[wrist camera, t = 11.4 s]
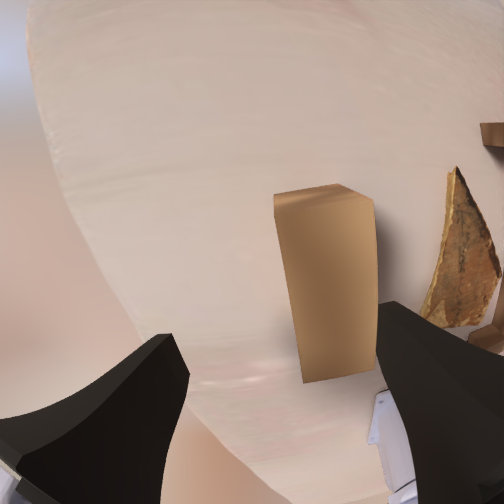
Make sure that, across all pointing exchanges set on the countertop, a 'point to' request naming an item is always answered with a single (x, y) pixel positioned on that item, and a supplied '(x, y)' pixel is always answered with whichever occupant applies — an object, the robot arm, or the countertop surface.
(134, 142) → the countertop surface
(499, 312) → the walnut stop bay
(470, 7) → the countertop surface
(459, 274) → the shard
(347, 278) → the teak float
